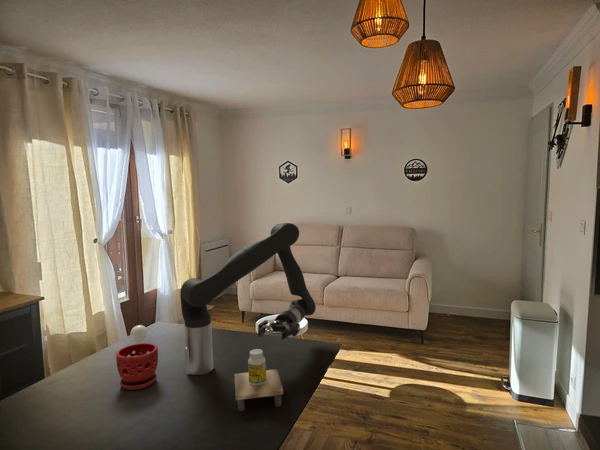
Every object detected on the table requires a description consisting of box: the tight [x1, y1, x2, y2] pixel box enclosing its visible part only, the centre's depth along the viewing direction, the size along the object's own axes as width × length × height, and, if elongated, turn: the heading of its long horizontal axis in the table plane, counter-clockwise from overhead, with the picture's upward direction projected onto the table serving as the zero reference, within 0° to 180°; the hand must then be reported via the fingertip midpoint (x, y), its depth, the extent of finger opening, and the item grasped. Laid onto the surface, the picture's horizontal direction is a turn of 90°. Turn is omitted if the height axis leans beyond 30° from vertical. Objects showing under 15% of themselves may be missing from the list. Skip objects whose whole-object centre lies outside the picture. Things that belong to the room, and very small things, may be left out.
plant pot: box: [115, 342, 159, 391], centre depth 135 cm, size 13×13×12 cm
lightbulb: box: [130, 324, 148, 353], centre depth 161 cm, size 6×6×11 cm
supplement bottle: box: [247, 348, 267, 385], centre depth 124 cm, size 6×6×10 cm
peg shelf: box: [234, 368, 284, 412], centre depth 124 cm, size 14×14×5 cm
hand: (270, 335), depth 135 cm, fingers open, 8 cm apart
